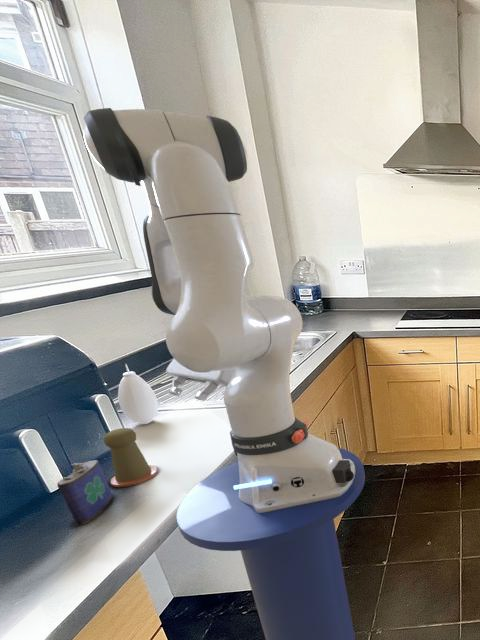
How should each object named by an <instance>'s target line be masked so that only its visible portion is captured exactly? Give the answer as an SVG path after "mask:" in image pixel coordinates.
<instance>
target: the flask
mask: <svg viewBox="0 0 480 640" xmlns="http://www.w3.org/2000/svg"><path fill="white" fill-rule="evenodd" d="M71 466H74V468H72V473H69V475H68V476H64V477H62V479H60V480H59V481H58V482H57V484H56V485H57V488H58V490H59V491H60V495H61V496H62V498H63V499H64V502H65V504H66V507H67V509H68V511H69V513H70V514H71V517H72V518H73V521H74V524H75V526H78V525H79V526H80V525H83V524H86V523H89V522H91V521H92V520H93V519H95V518H96V517H97V516H99V514H101V513H102V512H103V511H104V510H105V508H106V507H107V506H108V505H109V504H110V503H111V502H112V501H113V498H114V497H113V493H112V492H111V488H110V487H109V484H108V482H107V479H106V478H105V475H104V474H105V473H104V472H103V469H102V467H101V465H100V462H99V460H96V459H93V460H89V461H84V462H74V463H72V464H71Z"/></svg>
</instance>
